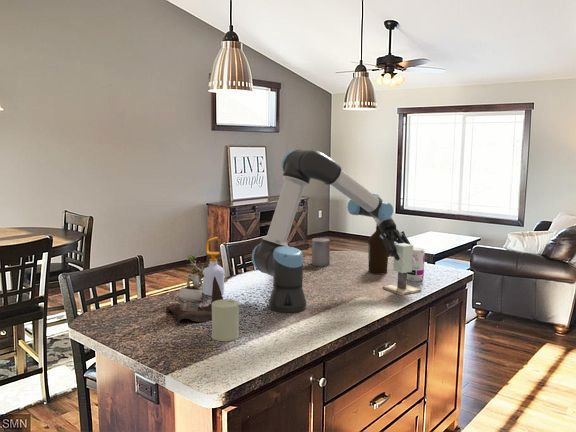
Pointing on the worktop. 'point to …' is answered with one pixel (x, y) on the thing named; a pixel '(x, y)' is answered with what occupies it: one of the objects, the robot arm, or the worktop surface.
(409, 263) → the tall mint green block
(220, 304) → the can
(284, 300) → the robot arm
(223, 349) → the worktop surface
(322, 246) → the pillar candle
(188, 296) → the potted plant
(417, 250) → the supplement can
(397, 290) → the post base
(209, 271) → the soap bottle
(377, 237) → the olive oil
